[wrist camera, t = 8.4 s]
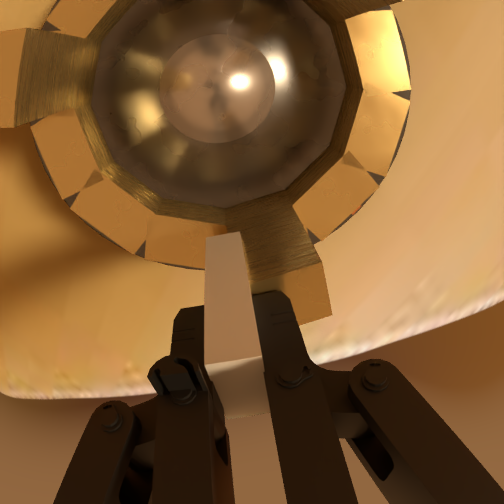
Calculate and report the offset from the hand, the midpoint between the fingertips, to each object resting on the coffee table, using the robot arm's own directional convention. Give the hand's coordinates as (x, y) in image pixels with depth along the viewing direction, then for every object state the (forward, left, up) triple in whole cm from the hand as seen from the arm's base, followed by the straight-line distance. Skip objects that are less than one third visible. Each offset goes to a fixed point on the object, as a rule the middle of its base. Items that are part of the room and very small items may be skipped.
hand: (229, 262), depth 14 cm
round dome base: (-6, +4, -4) cm, 8 cm away
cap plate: (-6, +4, -6) cm, 9 cm away
